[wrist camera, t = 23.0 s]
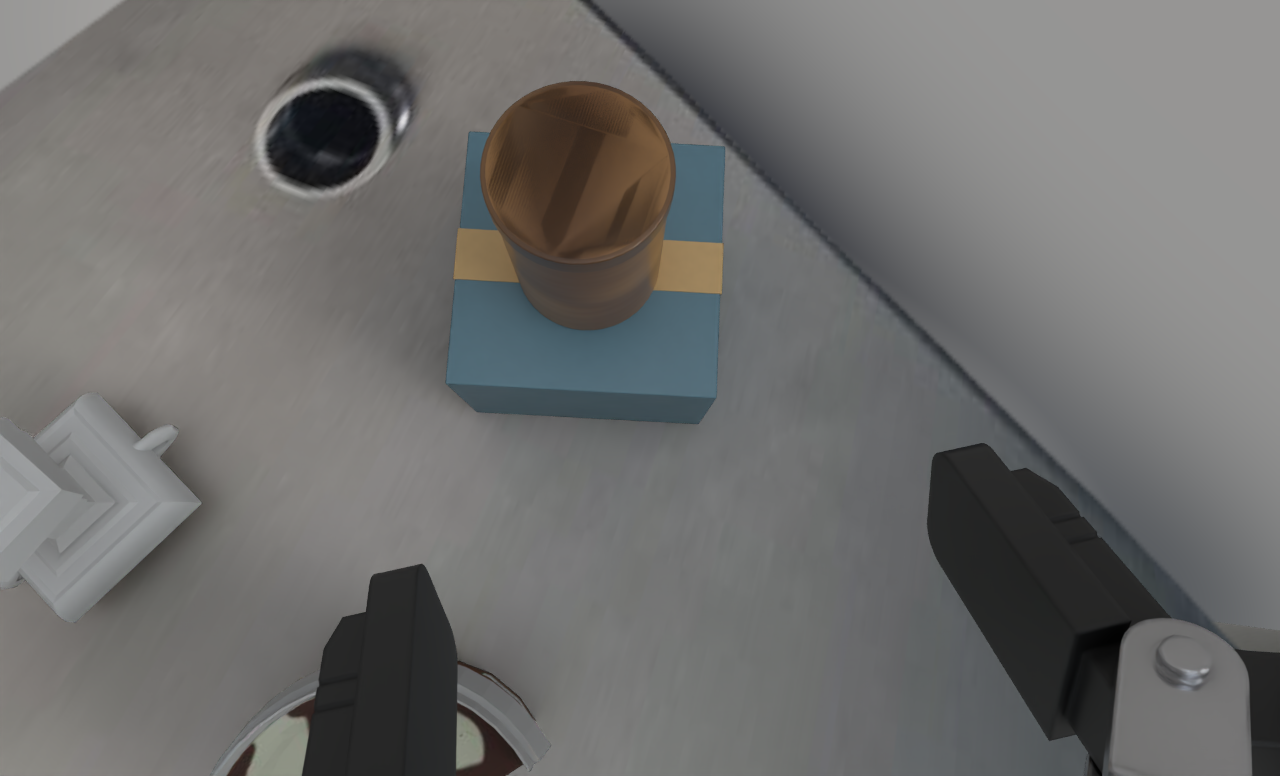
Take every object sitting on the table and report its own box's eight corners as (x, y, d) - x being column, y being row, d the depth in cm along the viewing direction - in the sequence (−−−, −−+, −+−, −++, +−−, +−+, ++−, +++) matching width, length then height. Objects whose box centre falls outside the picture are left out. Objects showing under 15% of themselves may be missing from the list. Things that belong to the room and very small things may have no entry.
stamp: (90, 639, 36) (-68, 669, 28) (-11, 530, 37) (-195, 526, 28) (251, 484, 37) (146, 468, 29) (150, 381, 38) (19, 337, 30)
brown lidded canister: (665, 195, 33) (680, 86, 25) (658, 337, 32) (671, 270, 24) (519, 187, 33) (488, 74, 25) (508, 329, 32) (471, 258, 24)
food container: (495, 573, 37) (449, 585, 27) (566, 701, 36) (546, 761, 26) (236, 728, 35) (89, 800, 26) (303, 865, 35) (178, 994, 25)
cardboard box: (708, 213, 40) (726, 145, 33) (700, 424, 38) (718, 398, 31) (493, 201, 40) (467, 130, 33) (475, 412, 38) (443, 383, 31)
